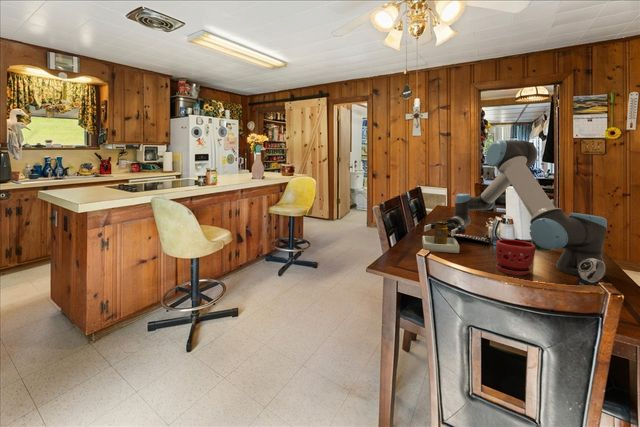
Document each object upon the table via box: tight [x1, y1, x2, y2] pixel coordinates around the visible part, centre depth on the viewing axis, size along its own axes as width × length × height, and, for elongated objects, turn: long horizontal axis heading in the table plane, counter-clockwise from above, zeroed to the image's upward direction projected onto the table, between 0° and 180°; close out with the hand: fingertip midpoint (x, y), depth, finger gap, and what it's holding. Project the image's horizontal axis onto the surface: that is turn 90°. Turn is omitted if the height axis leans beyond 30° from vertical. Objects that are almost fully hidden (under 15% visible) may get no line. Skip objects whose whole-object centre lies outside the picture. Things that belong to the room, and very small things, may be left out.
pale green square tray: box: [421, 235, 460, 254], centre depth 159 cm, size 16×16×4 cm
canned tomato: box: [530, 239, 551, 252], centre depth 156 cm, size 8×8×11 cm
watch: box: [576, 258, 606, 286], centre depth 108 cm, size 6×8×11 cm
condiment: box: [431, 220, 449, 245], centre depth 159 cm, size 7×8×12 cm
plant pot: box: [495, 238, 536, 276], centre depth 126 cm, size 13×13×12 cm
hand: (437, 231), depth 156 cm, fingers open, 13 cm apart
